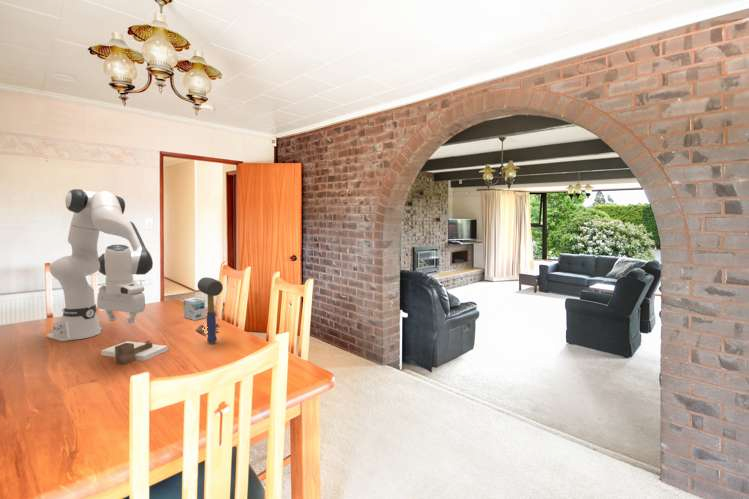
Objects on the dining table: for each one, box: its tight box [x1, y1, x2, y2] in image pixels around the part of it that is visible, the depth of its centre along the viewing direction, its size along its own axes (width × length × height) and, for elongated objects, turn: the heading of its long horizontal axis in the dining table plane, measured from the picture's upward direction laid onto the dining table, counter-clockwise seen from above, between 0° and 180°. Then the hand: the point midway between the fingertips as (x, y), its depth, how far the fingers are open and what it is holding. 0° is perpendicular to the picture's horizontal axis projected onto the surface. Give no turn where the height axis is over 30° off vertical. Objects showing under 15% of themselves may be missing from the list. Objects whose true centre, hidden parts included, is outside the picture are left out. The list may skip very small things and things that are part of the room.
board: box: [100, 340, 169, 362], centre depth 158 cm, size 22×12×2 cm, turn 75°
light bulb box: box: [183, 297, 207, 321], centre depth 210 cm, size 11×7×11 cm, turn 58°
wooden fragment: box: [195, 323, 220, 337], centre depth 192 cm, size 26×11×1 cm, turn 21°
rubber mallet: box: [197, 276, 224, 345], centre depth 168 cm, size 12×8×30 cm, turn 46°
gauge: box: [114, 339, 153, 366], centre depth 152 cm, size 4×14×7 cm, turn 165°
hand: (121, 321), depth 146 cm, fingers open, 8 cm apart
